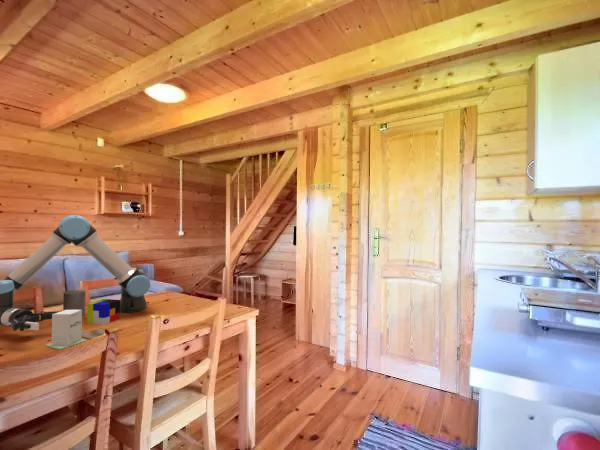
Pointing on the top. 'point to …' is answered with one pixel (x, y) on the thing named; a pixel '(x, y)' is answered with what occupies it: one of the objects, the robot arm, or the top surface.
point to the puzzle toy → (103, 311)
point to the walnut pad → (93, 333)
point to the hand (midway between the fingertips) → (55, 321)
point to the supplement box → (66, 327)
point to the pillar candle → (74, 300)
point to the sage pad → (64, 345)
